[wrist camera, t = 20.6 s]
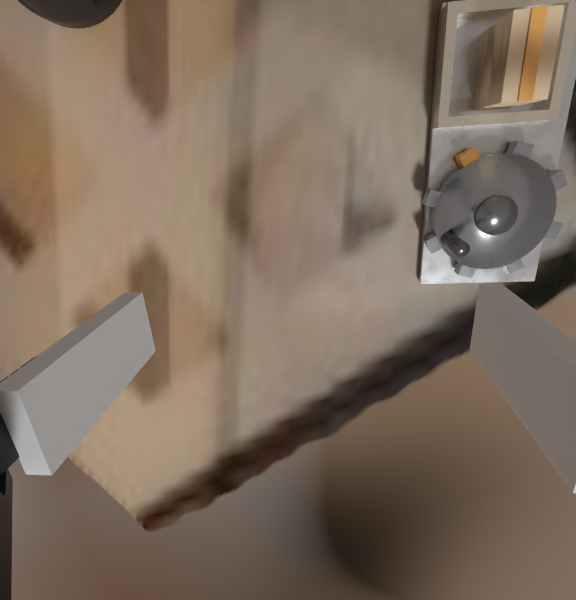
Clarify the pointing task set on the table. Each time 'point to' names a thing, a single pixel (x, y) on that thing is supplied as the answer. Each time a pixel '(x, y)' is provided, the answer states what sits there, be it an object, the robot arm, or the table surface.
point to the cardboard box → (518, 58)
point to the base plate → (489, 116)
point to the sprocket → (493, 209)
